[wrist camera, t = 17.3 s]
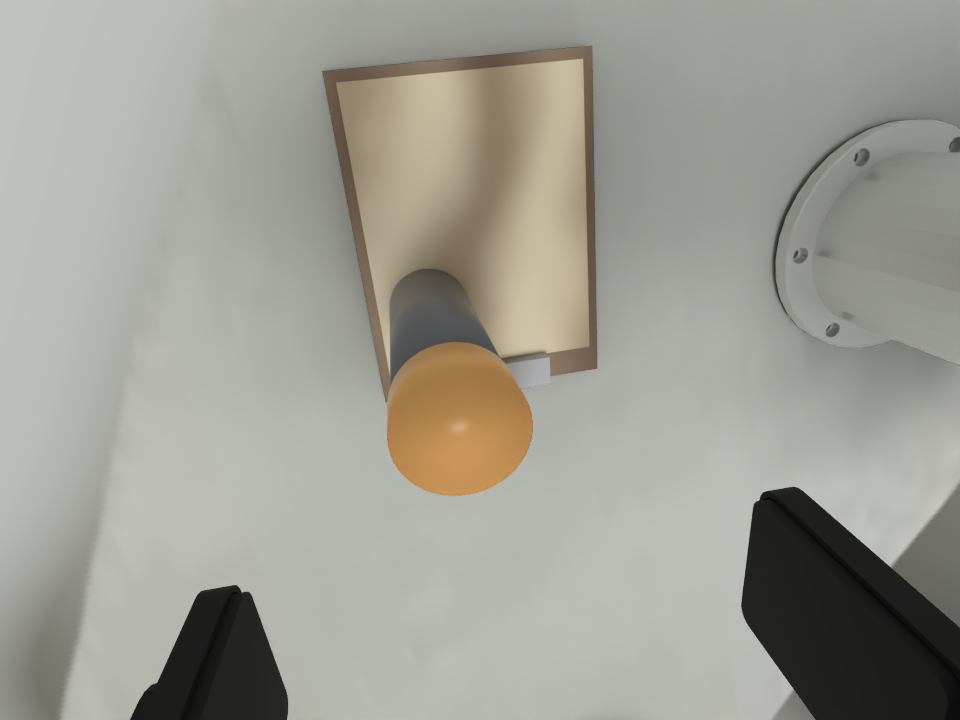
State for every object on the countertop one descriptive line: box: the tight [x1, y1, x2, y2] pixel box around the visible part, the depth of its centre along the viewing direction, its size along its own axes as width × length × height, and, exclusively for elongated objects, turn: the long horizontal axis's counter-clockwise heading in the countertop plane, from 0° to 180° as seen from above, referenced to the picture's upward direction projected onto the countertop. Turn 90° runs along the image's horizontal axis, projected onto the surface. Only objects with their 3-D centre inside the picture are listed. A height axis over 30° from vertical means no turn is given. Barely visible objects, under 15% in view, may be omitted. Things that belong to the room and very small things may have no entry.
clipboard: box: [322, 46, 597, 402], centre depth 26 cm, size 12×16×2 cm
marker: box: [387, 269, 533, 496], centre depth 21 cm, size 4×4×13 cm
